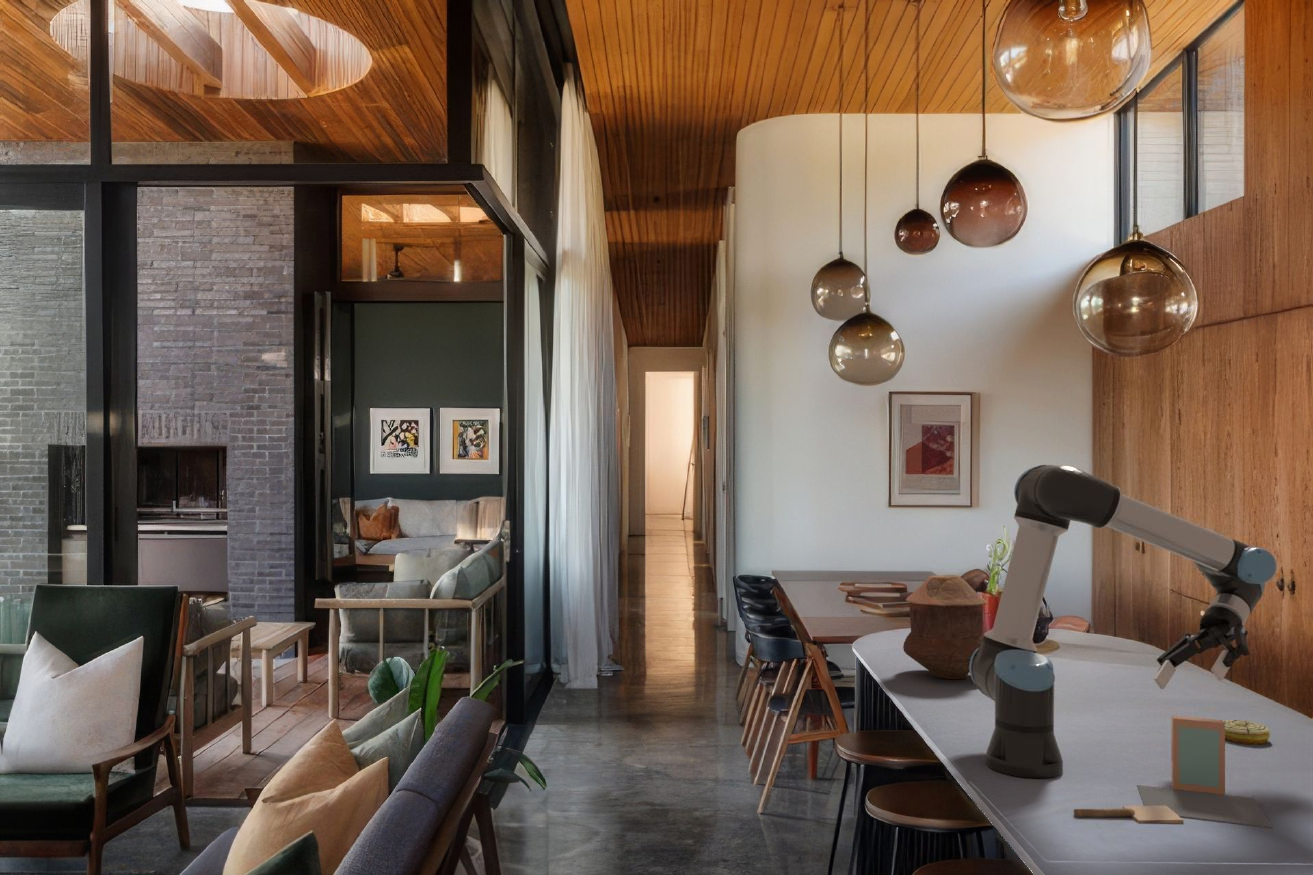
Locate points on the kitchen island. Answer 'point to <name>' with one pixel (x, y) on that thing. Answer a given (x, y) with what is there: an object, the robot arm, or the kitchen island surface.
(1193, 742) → the tile
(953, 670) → the pottery vessel
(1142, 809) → the wooden turner
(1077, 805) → the kitchen island surface
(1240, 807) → the mat
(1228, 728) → the decorated donut
